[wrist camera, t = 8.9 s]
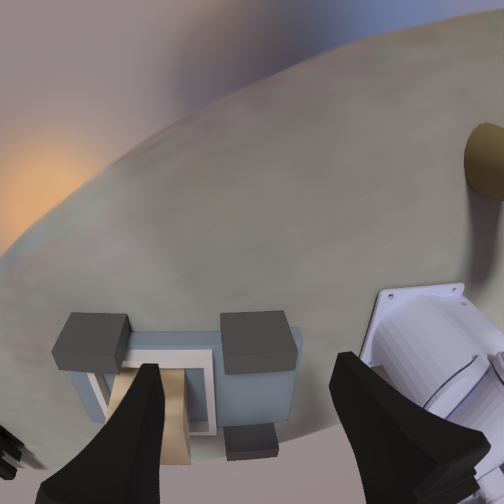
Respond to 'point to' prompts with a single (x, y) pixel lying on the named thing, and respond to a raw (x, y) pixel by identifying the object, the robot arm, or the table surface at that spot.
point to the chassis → (195, 371)
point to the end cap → (9, 453)
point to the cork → (486, 160)
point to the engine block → (175, 411)
